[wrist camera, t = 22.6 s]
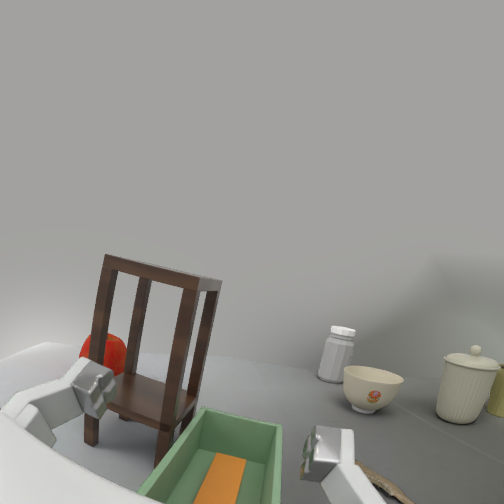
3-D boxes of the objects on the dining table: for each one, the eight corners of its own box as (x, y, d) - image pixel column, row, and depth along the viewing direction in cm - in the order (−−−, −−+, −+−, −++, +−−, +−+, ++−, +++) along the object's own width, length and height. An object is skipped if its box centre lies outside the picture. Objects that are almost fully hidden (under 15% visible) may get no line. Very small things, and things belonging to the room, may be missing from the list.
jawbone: (332, 458, 42) (336, 449, 42) (438, 494, 28) (444, 484, 28) (306, 474, 35) (311, 463, 35) (429, 520, 21) (437, 509, 22)
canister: (418, 407, 70) (437, 338, 72) (464, 408, 67) (483, 343, 69) (442, 430, 52) (468, 347, 54) (492, 428, 49) (516, 352, 51)
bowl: (395, 408, 69) (406, 375, 69) (386, 427, 56) (399, 387, 57) (344, 395, 78) (353, 362, 79) (325, 409, 65) (336, 371, 66)
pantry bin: (250, 612, 9) (276, 577, 10) (111, 572, 11) (105, 528, 12) (269, 466, 37) (282, 424, 38) (193, 448, 38) (201, 405, 39)
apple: (137, 388, 55) (144, 340, 56) (99, 397, 45) (105, 343, 46) (103, 368, 59) (109, 324, 60) (66, 373, 49) (71, 324, 50)
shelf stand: (164, 478, 29) (199, 277, 31) (84, 442, 30) (104, 253, 33) (190, 439, 40) (222, 280, 43) (122, 415, 42) (146, 262, 44)
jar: (313, 374, 97) (325, 323, 99) (338, 376, 98) (350, 328, 100) (322, 383, 88) (336, 328, 90) (349, 385, 89) (363, 332, 90)
